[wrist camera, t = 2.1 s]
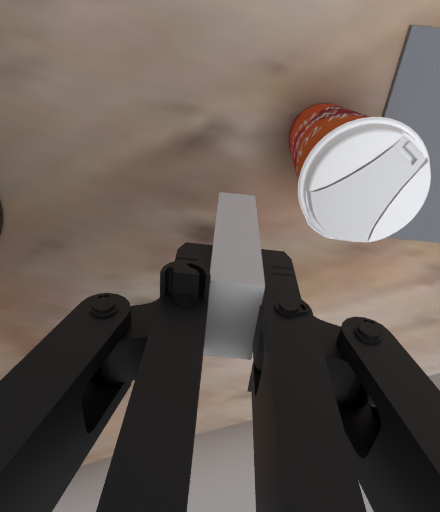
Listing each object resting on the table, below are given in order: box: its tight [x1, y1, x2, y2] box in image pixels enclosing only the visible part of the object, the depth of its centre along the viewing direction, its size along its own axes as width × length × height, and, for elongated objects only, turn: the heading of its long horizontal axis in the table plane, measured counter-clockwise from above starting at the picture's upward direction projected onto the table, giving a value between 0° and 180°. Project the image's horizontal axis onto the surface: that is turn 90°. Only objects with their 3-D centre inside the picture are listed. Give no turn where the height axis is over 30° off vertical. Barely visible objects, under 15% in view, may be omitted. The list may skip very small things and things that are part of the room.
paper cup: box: [289, 104, 431, 242], centre depth 27 cm, size 8×8×14 cm
